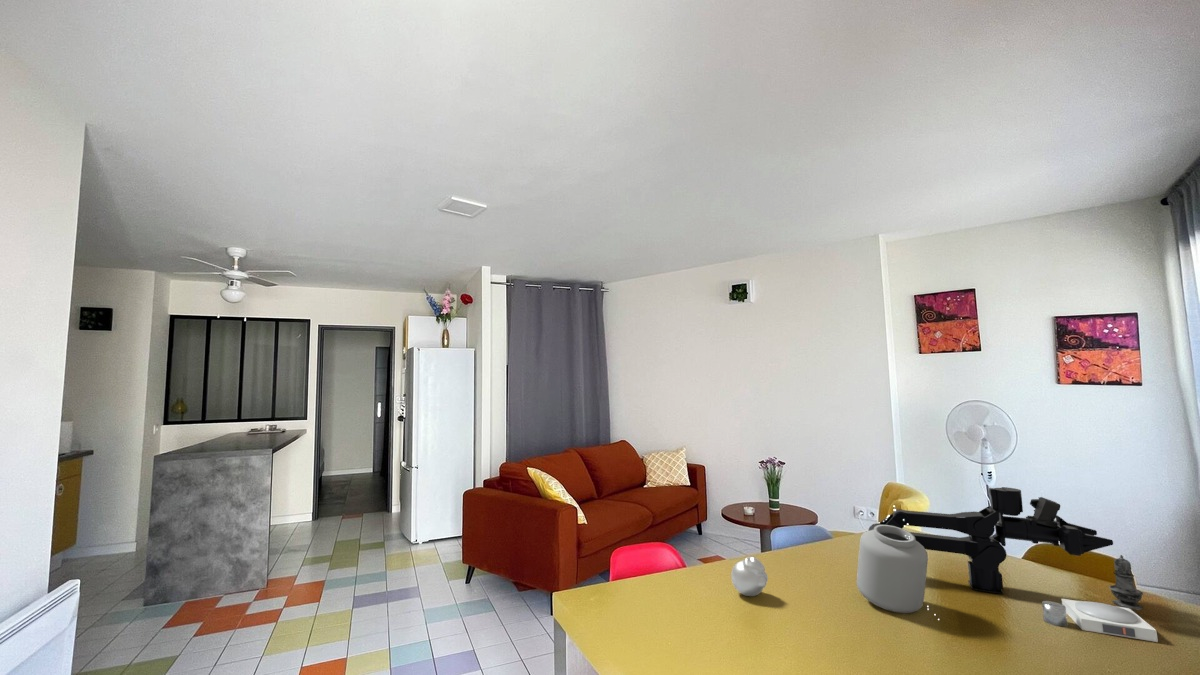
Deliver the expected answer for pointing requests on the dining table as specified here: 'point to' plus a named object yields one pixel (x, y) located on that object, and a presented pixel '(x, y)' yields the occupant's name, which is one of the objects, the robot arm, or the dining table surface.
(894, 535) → the jar
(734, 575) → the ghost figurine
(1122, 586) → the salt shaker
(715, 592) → the dining table surface
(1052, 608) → the spacer
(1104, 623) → the scale
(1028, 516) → the robot arm
